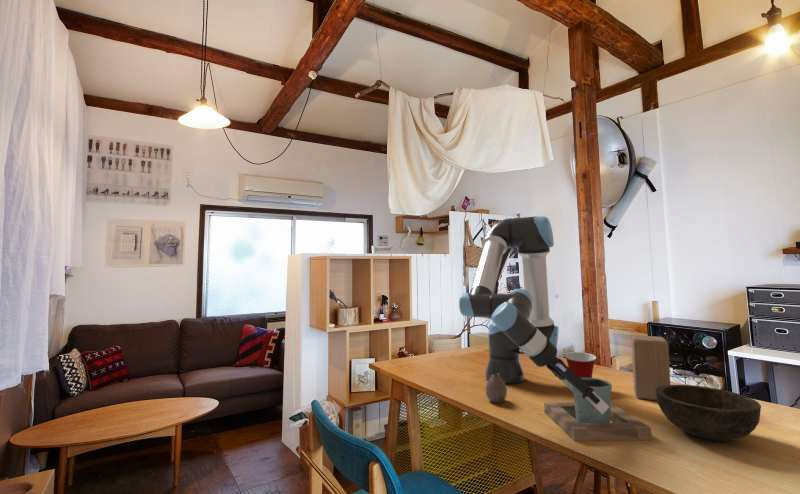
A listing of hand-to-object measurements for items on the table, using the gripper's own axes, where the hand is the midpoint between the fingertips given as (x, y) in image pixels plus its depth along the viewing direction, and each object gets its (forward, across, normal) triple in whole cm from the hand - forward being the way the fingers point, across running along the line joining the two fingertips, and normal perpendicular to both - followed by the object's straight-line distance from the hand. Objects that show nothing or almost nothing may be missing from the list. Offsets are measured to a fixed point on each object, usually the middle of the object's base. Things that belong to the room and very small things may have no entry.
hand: (592, 401), depth 109 cm
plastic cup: (+14, -35, +4) cm, 38 cm away
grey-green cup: (+5, -1, -5) cm, 7 cm away
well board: (+5, -1, -4) cm, 7 cm away
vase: (-11, -22, -20) cm, 31 cm away
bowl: (+23, +7, +14) cm, 28 cm away
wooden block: (+27, -24, +18) cm, 41 cm away
